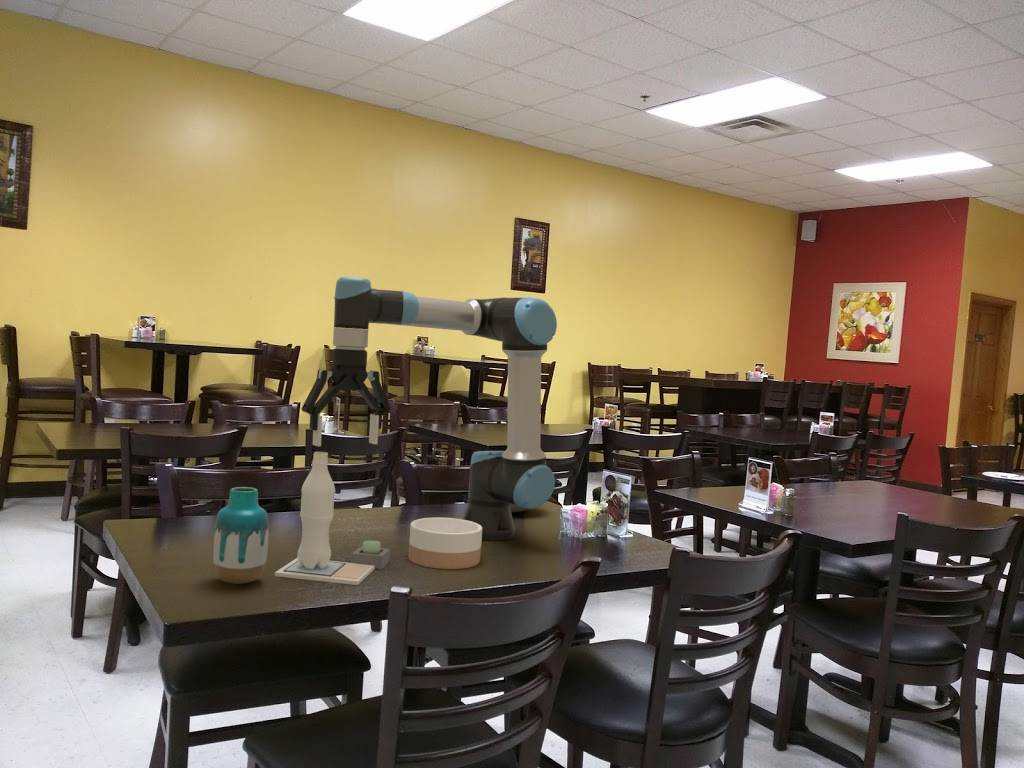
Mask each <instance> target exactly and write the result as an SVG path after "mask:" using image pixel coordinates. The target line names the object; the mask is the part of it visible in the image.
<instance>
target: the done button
mask: <svg viewBox="0 0 1024 768" xmlns="http://www.w3.org/2000/svg"><path fill="white" fill-rule="evenodd" d="M362 546H363V551H362V553H367V554H377V555H379V554H380V548H382V547H381V546H382V545H381V541H379V540H373V539H371V540H364V541H363V542H362Z"/></svg>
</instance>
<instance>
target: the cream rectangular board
mask: <svg viewBox="0 0 1024 768" xmlns="http://www.w3.org/2000/svg"><path fill="white" fill-rule="evenodd" d="M374 570H376V569H375V565H366V564H356V563H351V562H346V561H336V560H329V562H328V564H327V566H326V567H325V568H323V569H320V568H319V567H318V565H317V564H316V565H315V567H314V569H307V568H305V566H304V567H301V566H300V564H299V561H298V557H296V558H295V559H293V560H291V561H290V562H288V563H286V565H284V566H283V567H280V568H279V569H277V571H275V572H274V577H280V578H288V579H297V580H298V579H299V580H307V581H316V582H324V583H325V582H327V583H332V584H333V583H335V584H343V585H344V584H345V585H353V586H358V585H359V584H360V583H362V582H363V580H365V579H366V578H367V577H368V576H369V575H370V574H371V573H372V572H373V571H374Z"/></svg>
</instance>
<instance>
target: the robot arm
mask: <svg viewBox="0 0 1024 768" xmlns="http://www.w3.org/2000/svg"><path fill="white" fill-rule="evenodd" d="M334 291H335V292H334V312H333V314H334V316H333V317H334V319H333V334H332V335H333V336H332V338H333V339H332V345H333V346H334V347H335V348H333V349H332V351H331V352H332V354H331V355H332V356H331V369H330V371H329V370H326V369H321V368H320V369H318V370H317V375H316V380H315V382H314V384H313V385H312V388H311V389H310V391H309V393H308V395H307V397H306V399H305V401H304V403H303V405H302V407H301V412H304V413H306V414H309V429H310V430H311V431H312V446H316V447H321V446H322V432H323V415H320V414H321V412H322V411H323V410H324V409H325V407H327V405H328V404H329V403H330V402H331V400H332V399H333V398H334V397H335V396H336V395H337V394H338V393H339V392H340V391H341V392H349V391H353V392H358V393H359V394H360V395H361V397H362V398H363V399H364V401H365V403H366V404H367V405H368V406H369V408H370V410H372V412H373V413H370V414H369V419H370V420H369V435H368V443H369V444H372V445H378V442H379V441H378V440H379V430H381V429H382V425H383V416H385V414H386V413H389V412H390V411H391V406H390V404H389V401H388V398H387V396H386V394H385V391H384V388H383V386H382V383H381V380H380V372H379V371H377V370H370V371H367V365H368V351H367V350H366V348H368V347H369V346H368V345H369V344H368V343H369V325H370V324H378V325H379V324H381V325H382V324H383V325H395V326H406V327H416V328H429V329H437V330H439V329H440V330H448V331H449V330H450V331H451V330H452V331H461V332H462V333H463V334H464V335H465V336H474V337H480V338H485V339H489V340H494V341H497V342H501V350H502V352H503V353H504V354H505V355H506V357H507V445H506V446H507V448H506V449H505V450H483V451H482V450H481V451H479V450H478V451H474V452H473V453H472V455H471V458H470V465H469V481H468V494H467V496H468V498H467V499H468V500H467V506H466V508H465V511H464V513H463V516H462V518H461V519H462V520H468V521H472V522H475V523H477V524H479V525H481V526H482V540H483V541H505V540H509V539H512V538H514V537H515V532H516V528H515V527H516V526H515V522H514V520H513V515H512V512H511V510H510V503H511V504H514V505H517V506H519V507H522V508H529V510H530V509H538V508H540V507H542V506H543V505H544V504H546V503H547V502H548V500H549V499H550V498H551V497H552V494H553V492H554V488H555V485H556V478H555V474H554V472H553V471H552V469H551V468H550V467H548V466H547V455H546V453H545V452H544V451H543V450H542V448H541V428H542V426H541V424H542V423H541V422H542V421H541V417H542V416H541V415H542V414H541V412H542V411H541V409H542V404H541V402H542V393H541V392H542V357H543V355H545V354H546V352H548V343H550V342H551V341H552V340H553V339H554V336H555V335H556V332H557V329H558V328H557V327H558V325H557V323H558V321H557V316H556V313H555V311H554V309H553V308H552V307H551V306H550V304H549V303H548V302H546V301H545V300H544V299H541V298H536V297H529V296H527V297H493V298H485V299H483V298H481V299H478V298H477V299H476V298H468V299H466V300H465V301H461V300H460V301H459V300H452V299H444V298H443V299H442V298H433V297H432V298H431V297H425V296H416V294H414V293H412V292H409V291H403V290H389V289H377V288H372V284H371V280H370V279H368V278H365V277H363V278H362V277H349V276H348V277H347V276H344V277H343V276H342V277H339V278H338V279H337V280H336V285H335V290H334ZM330 378H331V380H332V382H331V383H330V384H329V385H328V387H327V388H326V390H325V392H323V394H322V395H321V393H322V391H323V389H324V387H325V385H326V383H327V381H328V380H329V379H330ZM366 380H368V381H369V382H370V385H371V388H372V391H373V392H374V393H373V394H374V395H375V397H374V396H373V394H372V393H371V392H370V390H369V388H368V386H367V385H366V384H365V381H366ZM320 395H321V396H320ZM375 398H376V399H375Z"/></svg>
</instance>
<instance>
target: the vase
mask: <svg viewBox="0 0 1024 768" xmlns="http://www.w3.org/2000/svg"><path fill="white" fill-rule="evenodd" d="M228 497H229V498H228V504H227V505H226V506H224V507H222V508H221V509H220V510H219V511H218V512H217V515H216V518H215V523H214V531H213V543H212V544H213V546H212V548H213V549H212V550H213V551H212V557H213V558H212V563H213V570H214V573H215V575H216V577H217V578H218V579H219V580H221V581H222V582H225V583H226V584H232V585H239V584H241V585H242V584H243V585H244V584H248V583H251V582H252V583H253V582H254V581H256V580H259V578H260V577H261V576H262V574H263V572H264V570H265V567H266V564H267V559H268V558H267V557H268V551H269V550H268V547H269V530H270V529H269V528H270V527H269V515H268V513H267V511H266V510H265V509H264V508H263V507H261V506H260V505H259V491H258V489H257V488H255V487H249V486H237V487H232V488H230V490H229V496H228Z"/></svg>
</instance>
